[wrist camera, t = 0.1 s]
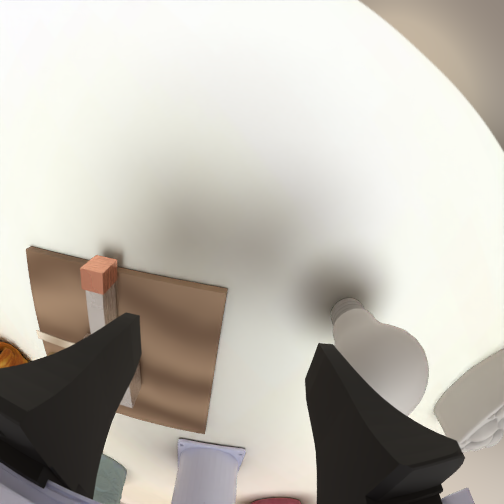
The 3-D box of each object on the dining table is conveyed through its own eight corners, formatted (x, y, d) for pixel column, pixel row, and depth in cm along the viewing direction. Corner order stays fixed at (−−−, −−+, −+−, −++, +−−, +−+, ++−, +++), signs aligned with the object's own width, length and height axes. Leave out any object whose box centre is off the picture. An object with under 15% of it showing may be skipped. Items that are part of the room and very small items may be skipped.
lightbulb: (289, 301, 22) (311, 421, 11) (358, 254, 20) (432, 350, 10) (330, 350, 23) (361, 459, 13) (391, 309, 22) (453, 406, 12)
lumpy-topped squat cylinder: (499, 388, 27) (525, 425, 19) (430, 427, 29) (450, 474, 21) (514, 338, 24) (550, 378, 16) (437, 384, 26) (468, 439, 18)
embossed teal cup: (115, 453, 32) (94, 516, 20) (141, 481, 35) (127, 536, 24) (66, 441, 32) (41, 494, 21) (94, 471, 36) (76, 519, 24)
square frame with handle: (141, 386, 24) (132, 408, 21) (94, 372, 24) (83, 391, 21) (137, 263, 19) (121, 281, 17) (79, 251, 19) (58, 265, 17)
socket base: (205, 428, 27) (199, 466, 23) (58, 385, 27) (39, 413, 22) (228, 282, 21) (220, 323, 16) (26, 239, 20) (-11, 261, 15)
